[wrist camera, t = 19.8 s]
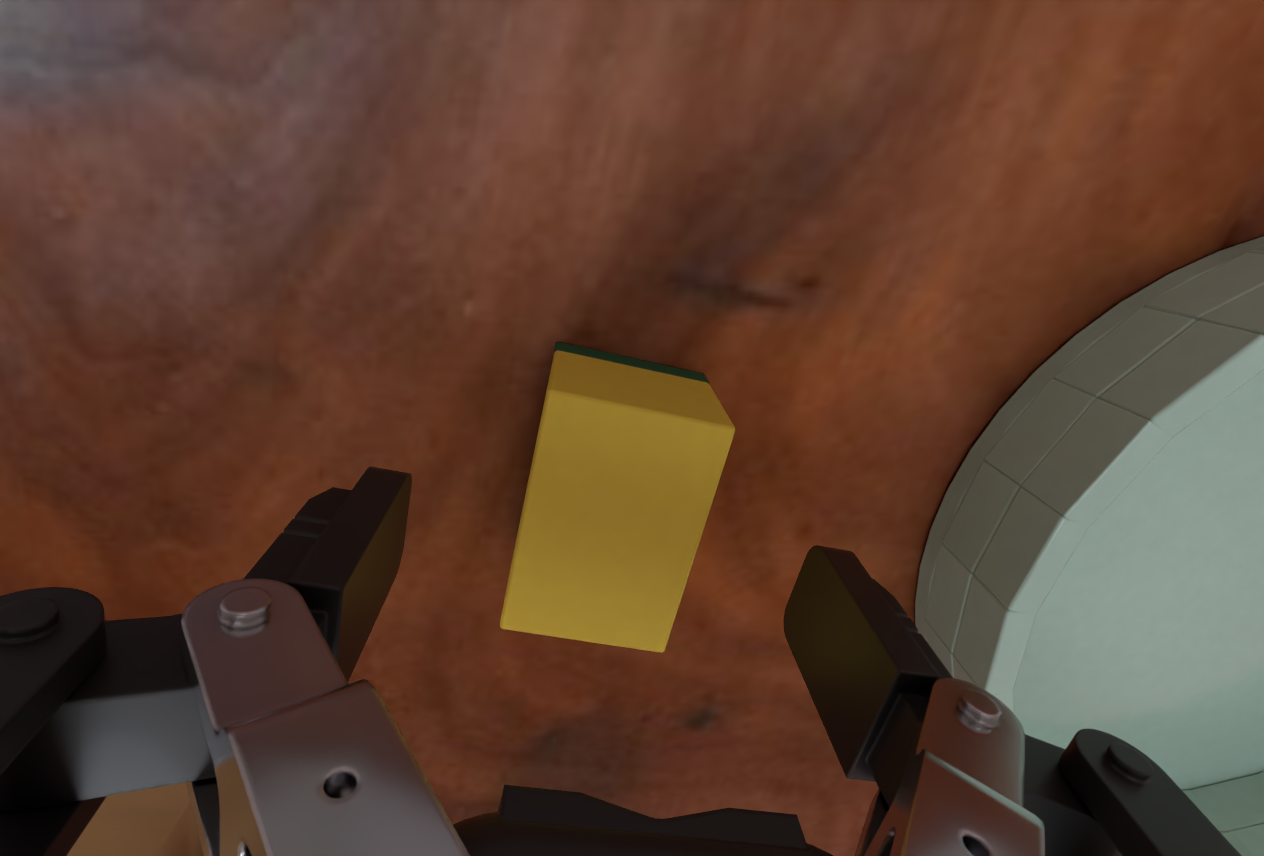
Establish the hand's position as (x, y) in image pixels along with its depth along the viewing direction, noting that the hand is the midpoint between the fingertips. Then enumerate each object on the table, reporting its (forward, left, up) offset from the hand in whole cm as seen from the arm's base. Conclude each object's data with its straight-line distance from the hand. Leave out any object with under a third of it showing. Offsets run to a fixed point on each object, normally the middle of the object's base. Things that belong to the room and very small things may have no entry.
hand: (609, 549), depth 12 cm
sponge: (0, 0, -5) cm, 5 cm away
